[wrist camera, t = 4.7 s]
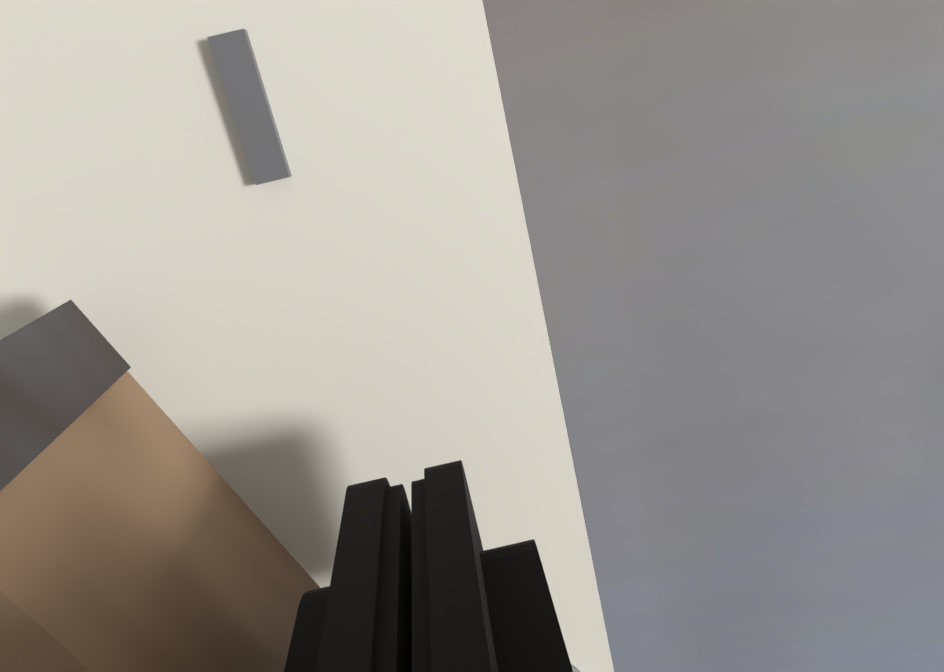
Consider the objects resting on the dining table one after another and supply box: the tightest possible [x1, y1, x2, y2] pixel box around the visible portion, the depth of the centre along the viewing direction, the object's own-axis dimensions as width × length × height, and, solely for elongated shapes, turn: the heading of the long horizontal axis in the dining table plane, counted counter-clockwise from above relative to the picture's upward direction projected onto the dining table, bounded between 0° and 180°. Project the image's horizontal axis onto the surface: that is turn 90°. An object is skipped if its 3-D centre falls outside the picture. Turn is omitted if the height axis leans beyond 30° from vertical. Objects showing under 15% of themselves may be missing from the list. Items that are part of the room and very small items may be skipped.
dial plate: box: [0, 0, 614, 672], centre depth 13 cm, size 20×17×2 cm
